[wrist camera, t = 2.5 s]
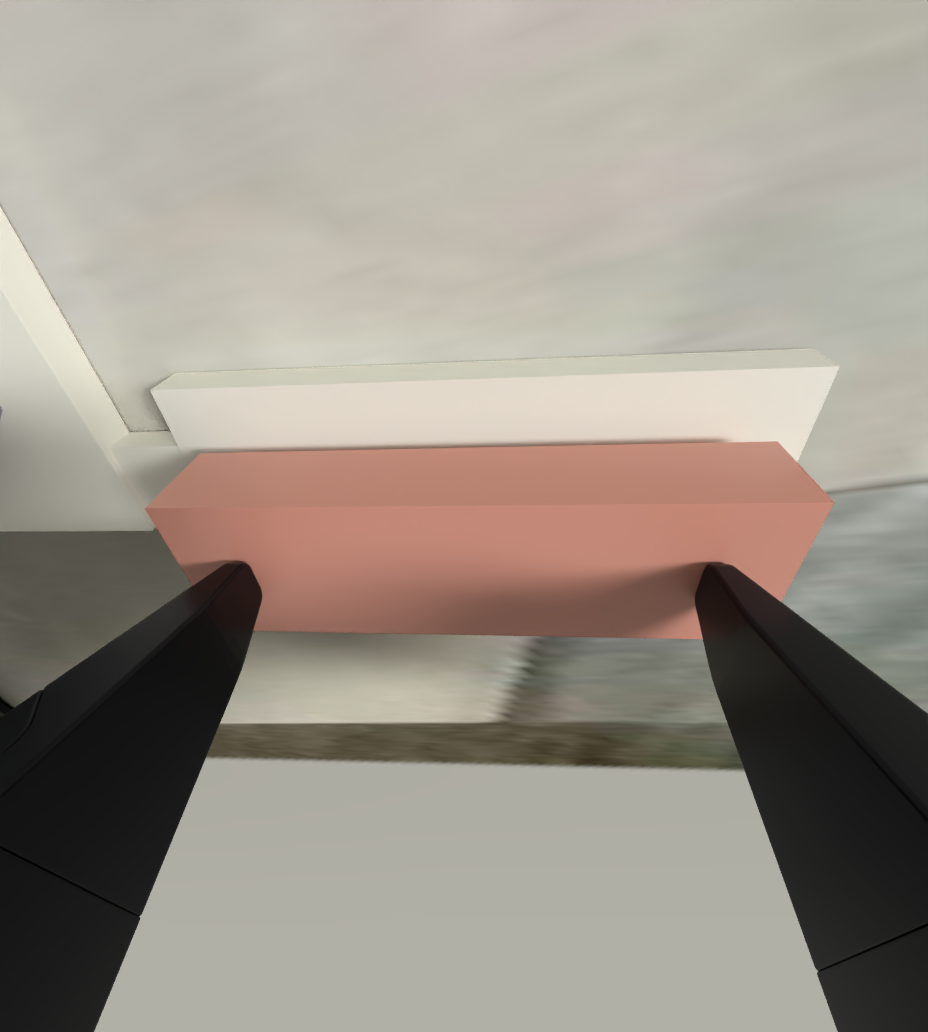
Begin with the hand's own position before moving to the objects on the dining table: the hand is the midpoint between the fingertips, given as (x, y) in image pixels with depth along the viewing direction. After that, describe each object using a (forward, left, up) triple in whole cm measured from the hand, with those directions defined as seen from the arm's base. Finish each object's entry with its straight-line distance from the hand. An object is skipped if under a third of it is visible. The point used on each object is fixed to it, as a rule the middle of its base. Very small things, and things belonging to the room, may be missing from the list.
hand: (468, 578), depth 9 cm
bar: (0, 0, -2) cm, 2 cm away
